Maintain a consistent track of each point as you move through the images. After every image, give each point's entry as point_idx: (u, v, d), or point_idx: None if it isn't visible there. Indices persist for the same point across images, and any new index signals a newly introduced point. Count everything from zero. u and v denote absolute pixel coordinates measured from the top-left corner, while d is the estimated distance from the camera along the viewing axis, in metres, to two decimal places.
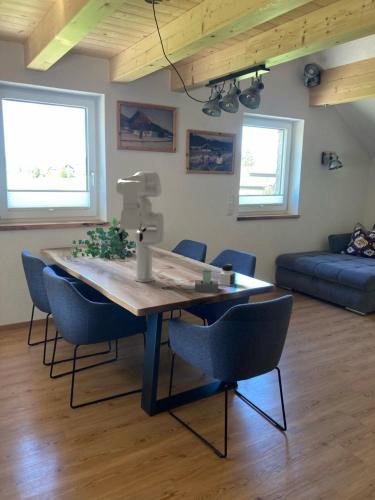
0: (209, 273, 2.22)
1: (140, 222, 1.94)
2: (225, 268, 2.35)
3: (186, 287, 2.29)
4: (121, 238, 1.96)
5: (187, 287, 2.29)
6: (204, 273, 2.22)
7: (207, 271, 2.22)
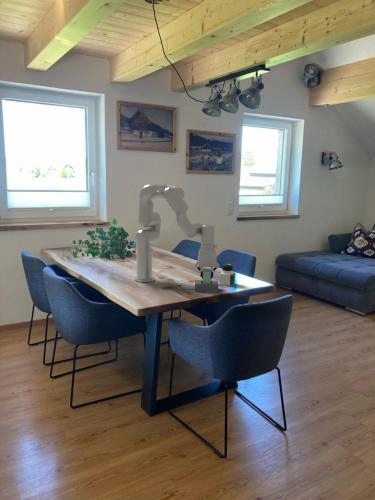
0: (209, 273, 2.22)
1: None
2: (225, 268, 2.35)
3: (186, 287, 2.29)
4: (202, 276, 2.23)
5: (187, 287, 2.29)
6: (204, 273, 2.22)
7: (207, 271, 2.22)
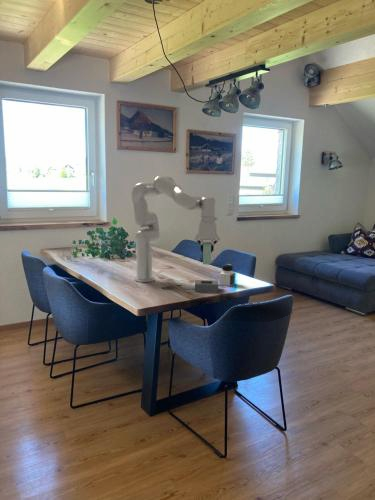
0: (209, 246, 2.20)
1: (216, 233, 2.19)
2: (225, 268, 2.35)
3: (186, 287, 2.29)
4: (202, 249, 2.21)
5: (187, 287, 2.29)
6: (204, 246, 2.20)
7: (207, 244, 2.19)
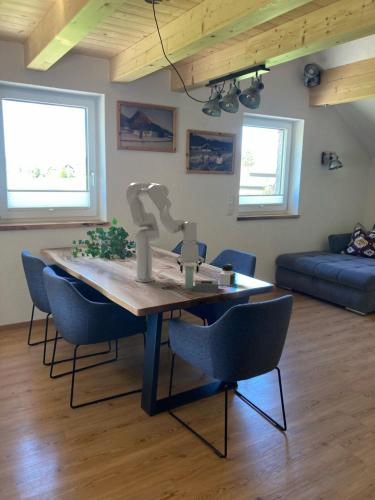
0: (191, 270, 2.26)
1: (198, 256, 2.26)
2: (225, 268, 2.35)
3: None
4: (182, 270, 2.27)
5: None
6: (186, 270, 2.26)
7: (189, 268, 2.26)
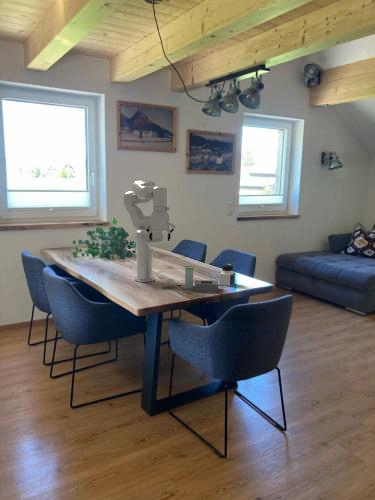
0: (191, 270, 2.26)
1: (168, 223, 2.17)
2: (225, 268, 2.35)
3: None
4: (151, 238, 2.19)
5: None
6: (186, 270, 2.26)
7: (189, 268, 2.26)
